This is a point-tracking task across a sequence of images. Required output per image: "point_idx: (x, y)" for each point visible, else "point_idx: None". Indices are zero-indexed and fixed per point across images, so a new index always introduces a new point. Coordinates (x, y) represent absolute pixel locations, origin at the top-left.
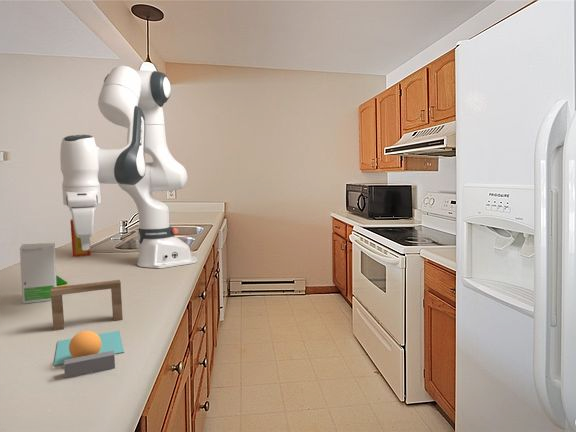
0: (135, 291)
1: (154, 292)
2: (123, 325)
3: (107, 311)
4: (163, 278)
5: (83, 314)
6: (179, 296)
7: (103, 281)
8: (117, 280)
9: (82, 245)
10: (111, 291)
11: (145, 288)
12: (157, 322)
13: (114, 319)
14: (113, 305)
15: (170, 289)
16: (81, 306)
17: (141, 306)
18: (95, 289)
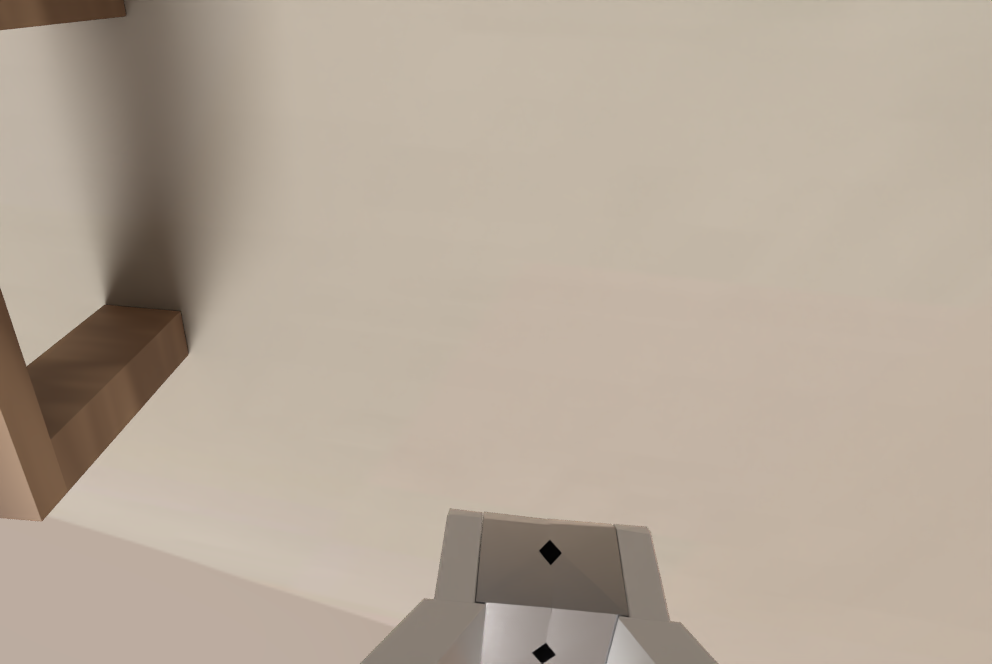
0: (657, 493)
1: None
2: (18, 336)
3: (311, 299)
4: (832, 652)
5: (313, 159)
6: None
7: (4, 419)
8: (14, 505)
9: (441, 580)
10: (56, 409)
11: (683, 545)
12: None
13: (99, 313)
14: (41, 359)
15: None
16: (519, 162)
17: (322, 463)
18: None
